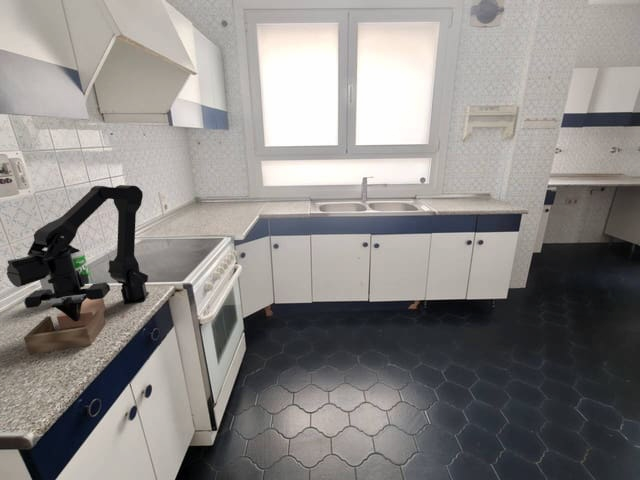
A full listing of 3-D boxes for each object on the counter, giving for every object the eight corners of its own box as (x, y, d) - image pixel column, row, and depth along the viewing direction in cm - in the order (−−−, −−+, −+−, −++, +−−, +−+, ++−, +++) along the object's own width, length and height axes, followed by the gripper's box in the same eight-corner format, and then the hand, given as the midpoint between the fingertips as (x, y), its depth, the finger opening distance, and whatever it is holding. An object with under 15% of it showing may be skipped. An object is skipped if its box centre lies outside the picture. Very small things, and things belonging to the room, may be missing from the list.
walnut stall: (106, 323, 93) (102, 309, 91) (91, 344, 83) (86, 328, 82) (51, 331, 89) (46, 316, 88) (29, 354, 80) (23, 337, 78)
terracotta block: (106, 310, 101) (103, 298, 100) (95, 325, 93) (92, 311, 92) (74, 315, 99) (70, 302, 98) (60, 330, 91) (56, 317, 89)
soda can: (64, 286, 119) (55, 257, 115) (70, 279, 125) (62, 251, 121) (87, 282, 121) (80, 254, 118) (92, 275, 128) (85, 248, 124)
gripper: (110, 258, 95) (121, 302, 100) (39, 265, 91) (54, 312, 95) (96, 271, 85) (109, 320, 90) (14, 280, 80) (32, 332, 85)
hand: (76, 320), depth 90 cm, fingers closed
